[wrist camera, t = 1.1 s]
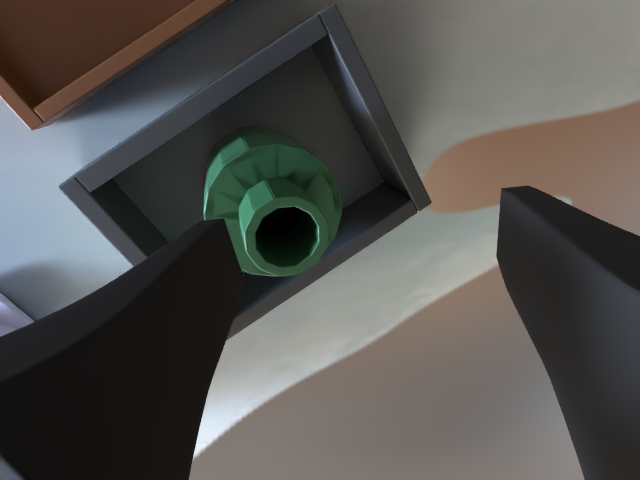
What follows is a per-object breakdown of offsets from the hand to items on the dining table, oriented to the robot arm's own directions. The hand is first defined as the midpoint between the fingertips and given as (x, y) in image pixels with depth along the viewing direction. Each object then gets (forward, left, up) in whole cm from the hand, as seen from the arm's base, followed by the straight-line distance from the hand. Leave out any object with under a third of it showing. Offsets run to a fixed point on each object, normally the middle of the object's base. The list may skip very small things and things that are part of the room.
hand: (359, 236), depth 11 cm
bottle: (-2, 0, -11) cm, 11 cm away
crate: (-2, 0, -11) cm, 11 cm away
